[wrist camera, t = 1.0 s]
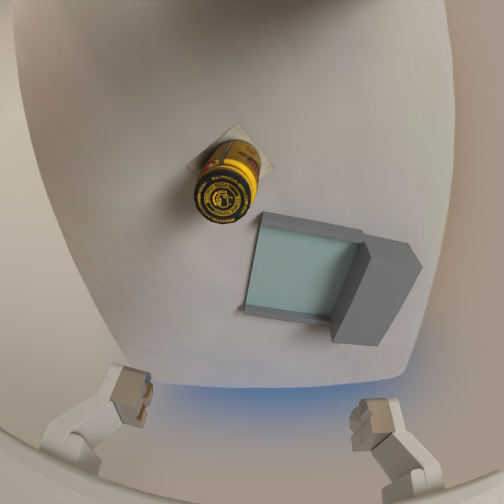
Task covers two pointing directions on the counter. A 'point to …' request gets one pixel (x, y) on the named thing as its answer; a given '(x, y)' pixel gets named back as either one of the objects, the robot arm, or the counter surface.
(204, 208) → the condiment
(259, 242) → the teal-floored tray
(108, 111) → the counter surface
